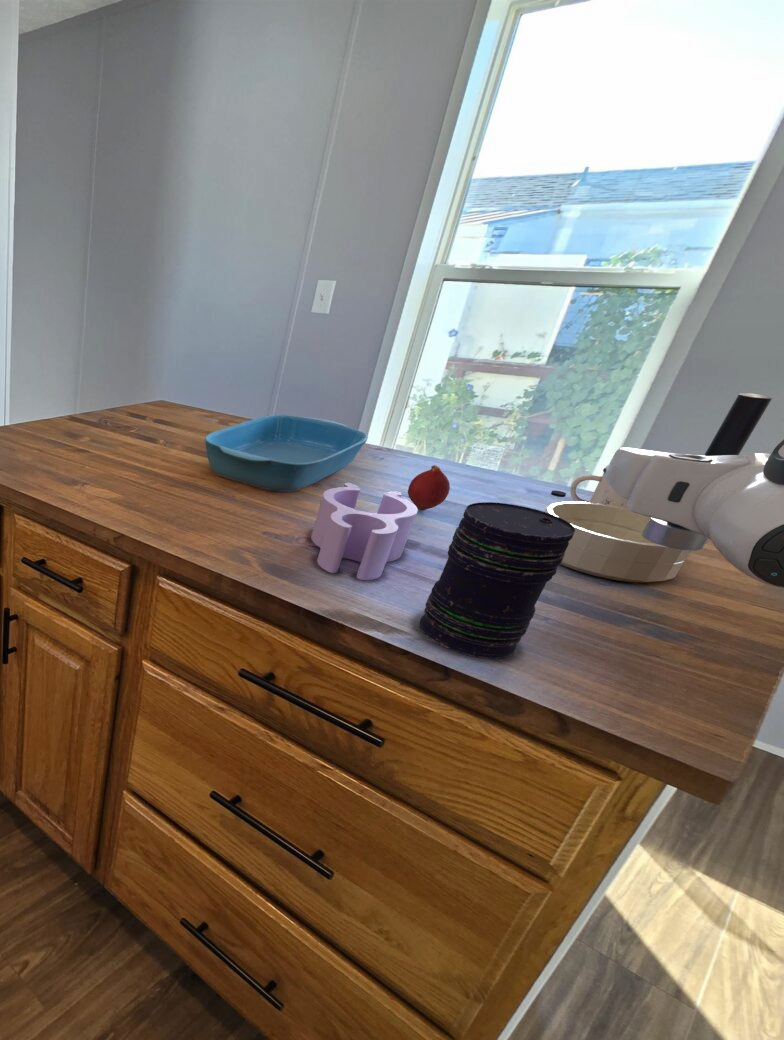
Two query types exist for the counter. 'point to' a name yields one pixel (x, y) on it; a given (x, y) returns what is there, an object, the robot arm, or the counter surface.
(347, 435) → the casserole dish
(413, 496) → the onion
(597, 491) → the teacup with lid
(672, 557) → the bowl
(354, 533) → the clip
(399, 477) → the counter surface
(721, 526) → the robot arm
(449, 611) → the oil drum
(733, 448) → the black tall cylinder post
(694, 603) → the counter surface
